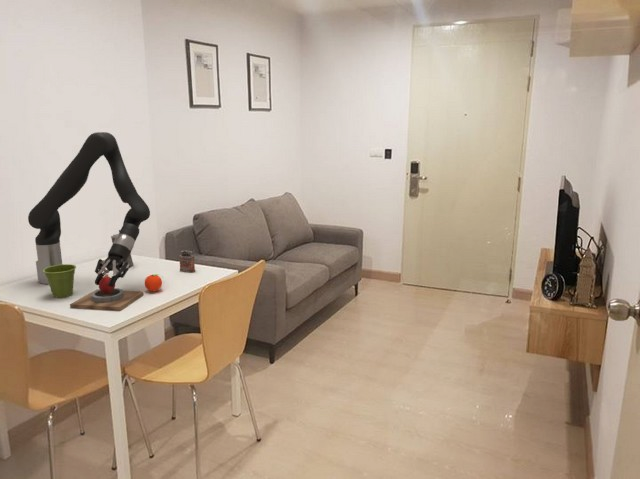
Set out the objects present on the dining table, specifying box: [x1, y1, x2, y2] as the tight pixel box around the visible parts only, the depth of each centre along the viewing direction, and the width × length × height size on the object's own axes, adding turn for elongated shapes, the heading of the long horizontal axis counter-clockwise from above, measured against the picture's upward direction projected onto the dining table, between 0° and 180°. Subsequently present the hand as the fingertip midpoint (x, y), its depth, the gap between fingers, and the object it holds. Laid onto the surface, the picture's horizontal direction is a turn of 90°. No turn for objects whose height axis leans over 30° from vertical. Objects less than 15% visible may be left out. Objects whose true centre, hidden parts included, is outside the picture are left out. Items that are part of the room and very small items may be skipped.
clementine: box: [144, 273, 164, 292], centre depth 208 cm, size 8×7×7 cm
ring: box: [91, 287, 124, 303], centre depth 196 cm, size 11×11×2 cm
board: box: [69, 288, 144, 312], centre depth 196 cm, size 20×18×2 cm
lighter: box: [178, 249, 196, 274], centre depth 236 cm, size 8×3×10 cm, turn 68°
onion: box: [98, 273, 116, 294], centre depth 195 cm, size 6×6×8 cm
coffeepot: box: [110, 229, 134, 268], centre depth 242 cm, size 15×9×18 cm, turn 51°
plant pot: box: [43, 263, 77, 299], centre depth 202 cm, size 12×12×11 cm
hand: (103, 285), depth 193 cm, fingers closed on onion, 5 cm apart
